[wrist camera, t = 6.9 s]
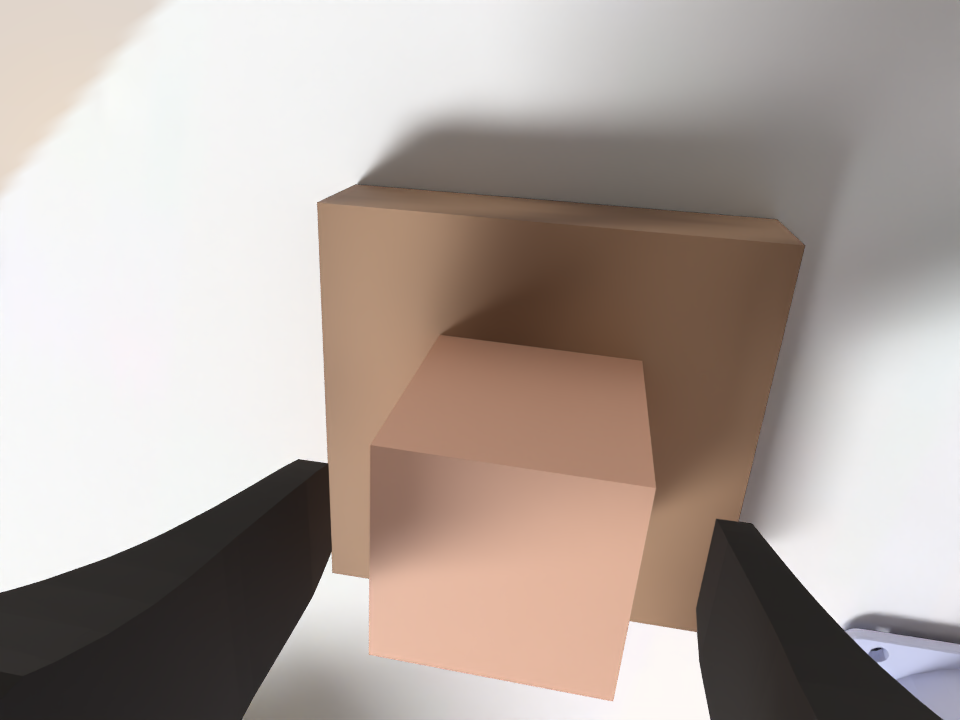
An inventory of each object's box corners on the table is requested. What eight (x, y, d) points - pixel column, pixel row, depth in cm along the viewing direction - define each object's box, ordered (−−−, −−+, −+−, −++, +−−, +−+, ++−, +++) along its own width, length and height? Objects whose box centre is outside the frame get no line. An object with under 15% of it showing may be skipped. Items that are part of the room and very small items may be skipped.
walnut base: (777, 219, 16) (805, 245, 14) (699, 569, 20) (711, 634, 18) (355, 184, 17) (316, 202, 15) (361, 518, 21) (332, 572, 19)
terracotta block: (642, 360, 15) (656, 487, 11) (612, 530, 17) (613, 701, 12) (439, 334, 16) (369, 445, 11) (431, 501, 18) (368, 654, 13)
